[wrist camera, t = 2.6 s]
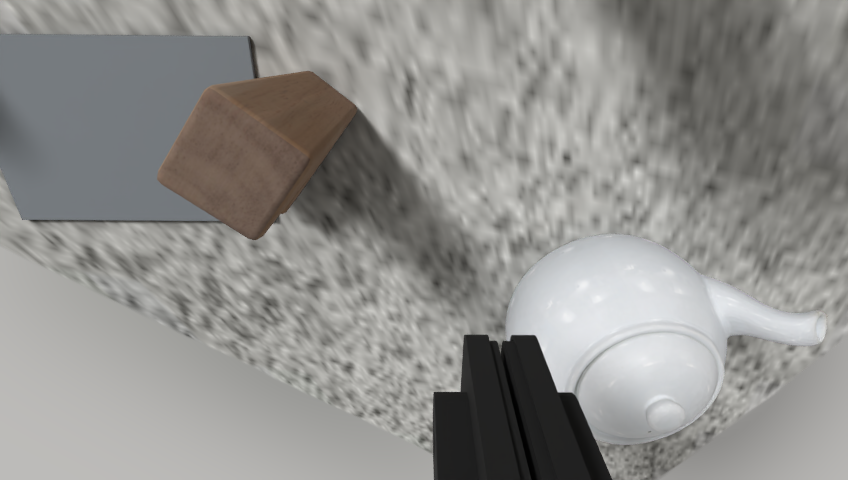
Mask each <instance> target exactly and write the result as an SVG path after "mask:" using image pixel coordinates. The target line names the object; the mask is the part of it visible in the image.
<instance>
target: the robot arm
mask: <svg viewBox="0 0 848 480" xmlns="http://www.w3.org/2000/svg"><path fill="white" fill-rule="evenodd" d="M433 462H434V480H612V478H611V476H610V473H609V471H608V469H607V466H606V464H605V462H604V459H603V457H602V455H601V452H600V450H599V448H598V445H597V443H596V441H595V439H594V436H593V434H592V432H591V429H590V427H589V425H588V422H587V420H586V418H585V415H584V413H583V411H582V408H581V406H580V404H579V401H578V399H577V398H576V396H575V395H574V394H573V393H572V392H558V391H557V389H556V386H555V383H554V381H553V378H552V376H551V373H550V370H549V368H548V365H547V363H546V360H545V357H544V355H543V352H542V350H541V347H540V344H539V342H538V339H537V337H536V336H535V335H511V337H510V341H503V343H502V349H501V355H500V351H499V347H498V343H497V341H489V337H488V335H464V344H463V361H462V378H461V392H434V397H433Z"/></svg>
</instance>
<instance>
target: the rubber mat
mask: <svg viewBox="0 0 848 480" xmlns="http://www.w3.org/2000/svg"><path fill="white" fill-rule="evenodd" d="M250 79H256V77H255V70H254V63H253V56H252V50H251V43H250V36H152V35H49V34H0V168H1V170H2V173H3V175H4V177H5V180H6V182H7V185H8V187H9V189H10V192H11V194H12V196H13V199H14V201H15V204H16V206H17V208H18V211H19V213H20V215H21V218H22V220H153V221H220V220H218V219H216V218H215V217H213V216H212V215H210V214H208V213H207V212H205V211H203V210H202V209H200V208H199V207H197V206H195V205H194V204H192V203H191V202H189V201H187V200H186V199H184V198H183V197H181V196H179V195H178V194H176V193H175V192H173V191H171V190H170V189H168V188H166V187H165V186H163V185H162V184H161V183H160V182H159V181H158V180H157V174H158V170H159V169H160V167H161V165H162V163H163V161H164V160H165V158H166V156H167V154H168V153H169V151H170V149H171V147H172V146H173V144H174V142H175V140H176V139H177V137H178V135H179V133H180V132H181V130H182V128H183V126H184V125H185V123H186V121H187V119H188V118H189V116H190V114H191V112H192V111H193V109H194V107H195V105H196V104H197V102H198V100H199V98H200V97H201V95H202V93H203V91H204V90H205V89H206V88H208V87H209V86H211V85H216V84H223V83H230V82H237V81H243V80H250ZM276 220H277V219H276ZM276 220H275V221H276Z"/></svg>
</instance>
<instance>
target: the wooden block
mask: <svg viewBox="0 0 848 480" xmlns="http://www.w3.org/2000/svg"><path fill="white" fill-rule="evenodd" d="M356 113H357V107H356V106H355V104H353V103H352V102H351V101H349V100H348V99H347V98H345V97H344V96H343V95H342V94H340V93H339V92H338V91H336V90H335V89H334V88H332V87H331V86H330V85H329V84H327V83H326V82H325V81H323V80H322V79H321V78H319V77H318V76H317V75H316V74H314V73H313V72H310V71H305V72H298V73H291V74H284V75H277V76H271V77H264V78H257V79H250V80H243V81H237V82H230V83H223V84H216V85H211V86H209V87H208V88H206V89H205V90H204V91H203V93H202V95H201V97H200V98H199V100H198V102H197V104H196V105H195V107H194V109H193V111H192V112H191V114H190V116H189V118H188V119H187V121H186V123H185V125H184V126H183V128H182V130H181V132H180V133H179V135H178V137H177V139H176V140H175V142H174V144H173V146H172V147H171V149H170V151H169V153H168V154H167V156H166V158H165V160H164V161H163V163H162V165H161V167H160V169H159V170H158V174H157V180H158V181H159V182H160V183H161V184H162V185H163V186H165V187H166V188H168V189H170V190H171V191H173V192H175V193H176V194H178V195H179V196H181V197H183V198H184V199H186V200H187V201H189V202H191V203H192V204H194V205H195V206H197V207H199V208H200V209H202V210H203V211H205V212H207V213H208V214H210V215H212V216H213V217H215V218H216V219H218V220H220V221H221V222H223V223H224V224H226V225H228V226H229V227H231V228H232V229H234V230H236V231H237V232H239V233H240V234H242V235H244V236H245V237H247V238H249V239H252V240H257V239H259V238H260V237H262V236H263V235H264V234H265V233H266V232H267V230H268V229H269V228H270V226H271V225H272V224H273V223H274V221H275V220H276V219H277V218H278V216H279V215H280V214H283V213H285V212H287V210H288V209H289V208H290V206H291V205H292V204H293V202H294V201H295V200H296V198H297V197H298V196H299V194H300V193H301V191H302V190H303V188H304V187H305V186H306V184H307V183H308V181H309V180H310V178H311V177H312V176H313V174H314V173H315V171H316V170H317V168H318V167H319V166H320V164H321V163H322V161H323V160H324V158H325V157H326V156H327V154H328V153H329V151H330V150H331V148H332V147H333V146H334V144H335V143H336V141H337V140H338V138H339V137H340V136H341V134H342V133H343V131H344V130H345V128H346V127H347V126H348V124H349V123H350V121H351V120H352V118H353V117H354V116H355V114H356Z"/></svg>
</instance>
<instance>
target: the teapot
mask: <svg viewBox="0 0 848 480" xmlns="http://www.w3.org/2000/svg"><path fill="white" fill-rule="evenodd" d="M505 329H506V341H510V337H511V335H535V336H536V337H537V339H538V342H539V344H540V347H541V350H542V352H543V355H544V357H545V360H546V363H547V365H548V368H549V370H550V373H551V376H552V378H553V381H554V383H555V386H556V389H557V391H558V392H572V393H573V394H574V395H575V396H576V398H577V399H578V401H579V404H580V406H581V408H582V411H583V413H584V415H585V418H586V420H587V422H588V425H589V427H590V429H591V432H592V434H593V436H594V439H596V440H598V441H601V442H605V443H609V444H618V445H634V444H641V443H647V442H651V441H655V440H658V439H661V438H664V437H667V436H669V435H672V434H674V433H676V432H678V431H680V430H682V429H683V428H685V427H687V426H688V425H690V424H691V423H693V422H694V421H695V420H697V419H698V418H699V417H700V416H701V415H702V414H703V413H704V412H705V411H706V410H707V409H708V408H709V407H710V406H711V404H712V403H713V402H714V400H715V399H716V397H717V395H718V394H719V392H720V390H721V387H722V384H723V380H724V374H725V372H724V365H725V361H726V354H727V339H728V338H729V337H730V336H735V335H747V336H752V337H756V338H761V339H765V340H769V341H773V342H777V343H782V344H787V345H794V346H814V345H817V344H820V343H821V342H822V341H823V340H824V338H825V335H826V330H827V314H826V313H825V312H824V311H821V310H815V311H810V312H805V313H790V312H784V311H781V310H778V309H775V308H772V307H770V306H768V305H766V304H764V303H762V302H760V301H758V300H757V299H755V298H753V297H752V296H750V295H748V294H746V293H745V292H743V291H741V290H739V289H737V288H735V287H734V286H731V285H729V284H727V283H725V282H723V281H720V280H717V279H715V278H712V277H709V276H705V275H702V274H700V273H699V272H697V271H696V270H695V269H694V268H693V267H692V266H691V265H690V264H689V263H688V262H686V261H685V260H684V259H683V258H681V257H680V256H679V255H677V254H676V253H674V252H673V251H671V250H669V249H667V248H666V247H664V246H662V245H660V244H658V243H655V242H653V241H650V240H647V239H644V238H641V237H637V236H631V235H625V234H602V235H594V236H589V237H585V238H582V239H578V240H575V241H573V242H570V243H567V244H565V245H563V246H561V247H559V248H557V249H555V250H554V251H552V252H550V253H549V254H547V255H546V256H544V257H543V258H542V259H540V260H539V261H538V262H537V263H536V264H535V265H533V266H532V267H531V268H530V270H529V271H528V272H527V273H526V274H525V275H524V277H523V278H522V279H521V281H520V282H519V284H518V285H517V287H516V289H515V291H514V293H513V295H512V297H511V300H510V303H509V306H508V310H507V315H506V327H505Z"/></svg>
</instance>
